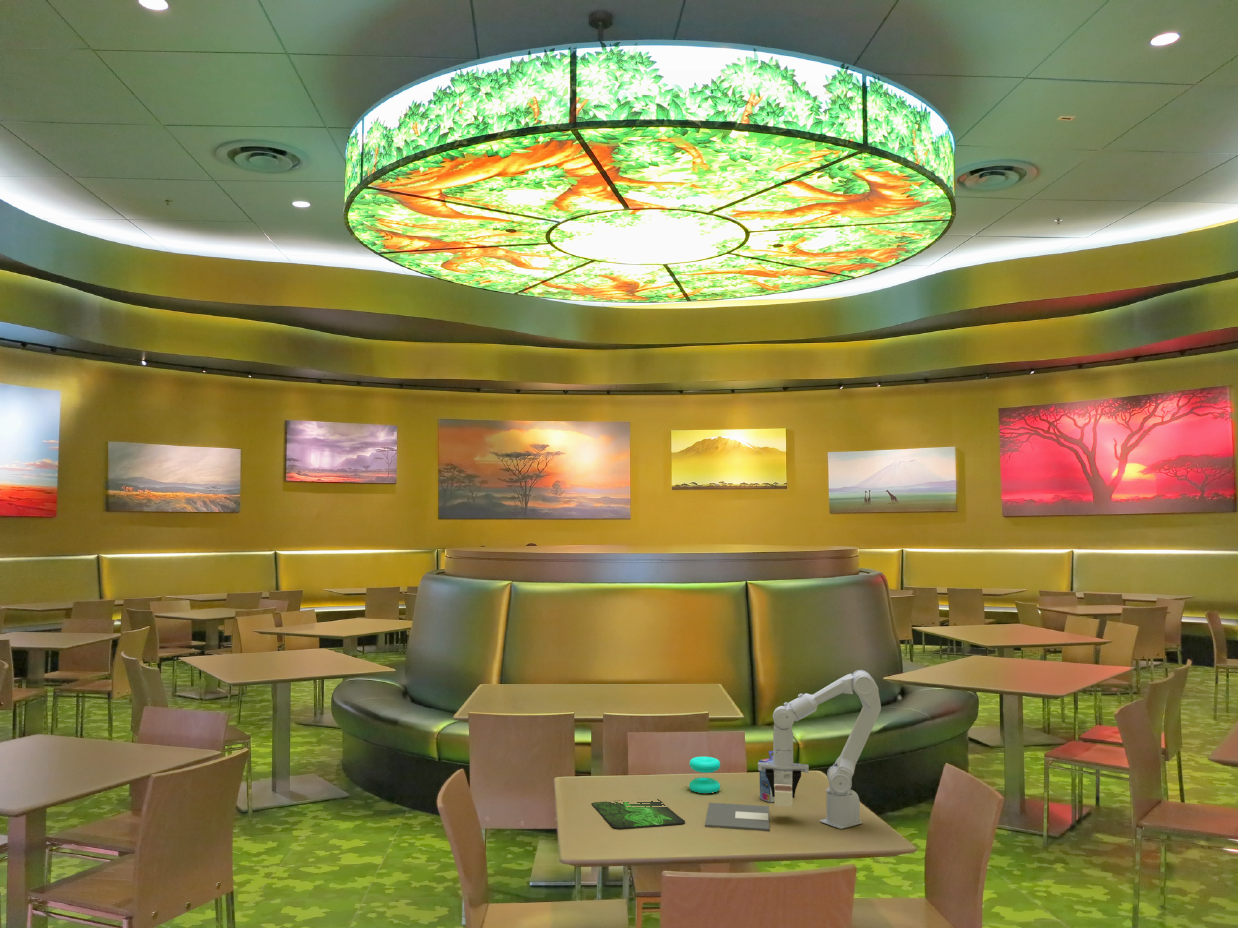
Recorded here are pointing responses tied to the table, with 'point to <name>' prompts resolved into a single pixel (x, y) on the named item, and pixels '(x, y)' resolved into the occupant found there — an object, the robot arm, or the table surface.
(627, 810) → the mouse mat
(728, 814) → the mat
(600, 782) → the table surface
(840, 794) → the robot arm
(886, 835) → the table surface
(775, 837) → the table surface
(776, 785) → the card deck
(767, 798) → the ink cartridge box
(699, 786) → the donuts
